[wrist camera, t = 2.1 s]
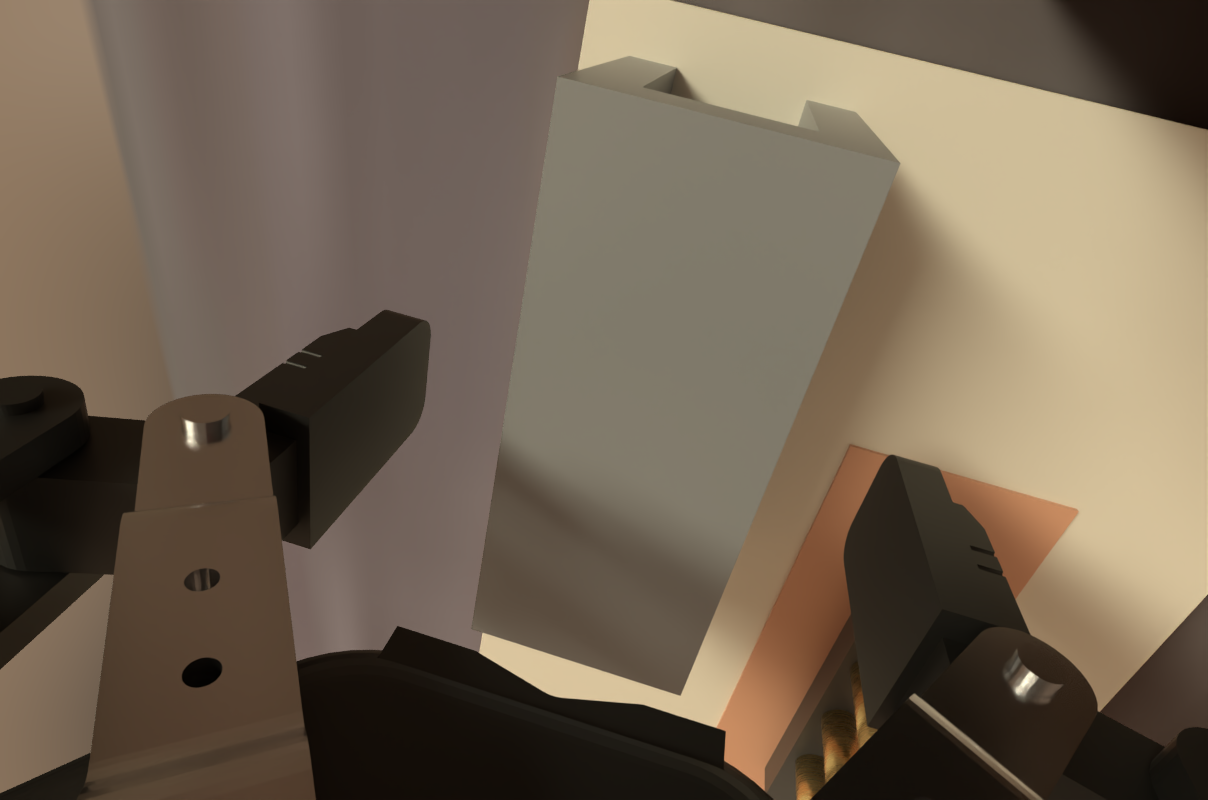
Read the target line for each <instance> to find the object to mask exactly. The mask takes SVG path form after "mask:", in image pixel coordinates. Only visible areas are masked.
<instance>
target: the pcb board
mask: <svg viewBox="0 0 1208 800" xmlns="http://www.w3.org/2000/svg"><path fill="white" fill-rule="evenodd" d="M627 56H633V57H637V58H641V59H645V60H649V61H653V62H657V63H661V64H665V65H669V66H673V67H677V70H676V74H675V78H674V82H673V87H672V91H671V95H675V96H679V97H683V98H687V99H691V100H695V101H699V102H703V103H707V104H711V105H715V106H719V107H723V108H727V109H731V110H735V111H739V112H743V113H747V114H751V115H755V116H759V117H763V118H767V119H771V120H775V121H778V122H782V123H786V124H790V125H794V126H798V124H799V121H800V118H801V115H802V112H803V109H804V106H805V103H806V100H810V101H814V102H818V103H822V104H826V105H830V106H834V107H838V108H842V109H846V110H850V111H854V112H856V113H857V114H858V115H859V116H860V117H861V118H862V119H863V121H864V122H865V123H866V124H867V125H868V126H869V128H870V129H871V130H872V131H873V132H874V133H875V134H876V136H877V137H878V138H879V139H880V140H881V141H882V143H883V144H884V145H885V146H886V147H887V148H888V149H889V151H890V152H891V153H892V154H893V155H894V156H895V157H896V159H897V160H898V161H899V162H900V166H899V168H898V171H897V173H896V175H895V178H894V180H893V183H892V185H891V188H890V190H889V192H888V195H887V197H886V200H885V202H884V205H883V207H882V209H881V212H880V214H879V217H878V219H877V222H876V224H875V226H874V229H873V231H872V234H871V236H870V238H869V241H868V243H867V246H866V248H865V251H864V253H863V255H862V258H861V260H860V263H859V265H858V268H857V270H856V272H855V275H854V277H853V280H852V282H851V284H850V287H849V289H848V292H847V294H846V297H845V299H844V301H843V304H842V306H841V309H840V311H839V314H838V316H837V318H836V321H835V323H834V326H833V328H832V330H831V333H830V335H829V338H828V340H827V343H826V345H825V347H824V350H823V352H822V355H821V357H820V360H819V362H818V364H817V367H816V369H815V372H814V374H813V376H812V379H811V381H810V384H809V386H808V389H807V391H806V393H805V396H804V398H803V401H802V403H801V406H800V408H799V410H798V413H797V415H796V418H795V420H794V422H793V425H792V427H791V430H790V432H789V435H788V437H787V439H786V442H785V444H784V447H783V449H782V452H781V454H780V456H779V459H778V461H777V464H776V466H775V468H774V471H773V473H772V476H771V478H770V481H769V483H768V485H767V488H766V490H765V493H764V495H763V498H762V500H761V502H760V505H759V507H758V510H757V512H756V514H755V517H754V519H753V522H752V524H751V527H750V529H749V531H748V534H747V536H746V539H745V541H744V544H743V546H742V548H741V551H740V553H739V556H738V558H737V560H736V563H735V565H734V568H733V570H732V573H731V575H730V577H729V580H728V582H727V585H726V587H725V590H724V592H723V594H722V597H721V599H720V602H719V604H718V606H717V609H716V611H715V614H714V616H713V619H712V621H711V623H710V626H709V628H708V631H707V633H706V636H705V638H704V640H703V643H702V645H701V648H700V650H699V652H698V655H697V657H696V660H695V662H694V665H693V667H692V669H691V672H690V674H689V677H688V679H687V682H686V684H685V686H684V689H683V691H682V694H681V696H679V695H676V694H673V693H670V692H667V691H663V690H660V689H657V688H654V687H651V686H648V685H645V684H642V683H638V682H635V681H632V680H629V679H626V678H623V677H620V676H617V675H613V674H610V673H607V672H604V671H601V670H598V669H595V668H592V667H588V666H585V665H582V664H579V663H576V662H573V661H570V660H567V659H563V658H560V657H557V656H554V655H551V654H548V653H545V652H542V651H538V650H535V649H532V648H529V647H526V646H523V645H520V644H517V643H513V642H510V641H507V640H504V639H501V638H498V637H495V636H492V635H488V634H485V633H483V634H482V640H481V646H480V652H479V653H480V654H482V655H483V656H485V657H487V658H488V659H490V660H492V661H493V662H495V663H497V664H498V665H500V666H502V667H503V668H505V669H507V670H508V671H510V672H512V673H513V674H515V675H517V676H518V677H520V678H522V679H523V680H525V681H527V682H528V683H530V684H532V685H533V686H535V687H537V688H538V689H540V690H542V691H543V692H545V693H547V694H549V695H552V696H555V697H560V698H571V699H583V700H595V701H607V702H619V703H631V704H643V705H646V706H649V707H652V708H655V709H659V710H662V711H665V712H668V713H671V714H674V715H677V716H680V717H684V718H687V719H690V720H693V721H696V722H699V723H702V724H705V725H709V726H712V727H715V728H718V729H721V730H724V731H726V737H725V754H724V761H725V762H727V763H729V764H730V765H732V766H734V767H735V768H737V769H738V770H739V771H741V772H742V773H743V774H745V775H746V776H747V777H749V778H750V779H751V780H753V781H754V782H755V783H756V784H757V785H759V786H760V787H761V788H762V789H763V790H764V791H765V767H766V765H767V763H768V761H769V759H770V758H771V756H772V754H773V752H774V750H775V749H776V747H777V745H778V743H779V741H780V740H781V738H782V736H783V734H784V733H785V731H786V729H787V727H788V725H789V724H790V722H791V720H792V718H793V716H794V715H795V713H796V711H797V709H798V707H799V706H800V704H801V702H802V700H803V699H804V697H805V695H806V693H807V691H808V690H809V688H810V686H811V684H812V682H813V681H814V679H815V677H816V675H817V673H818V672H819V670H820V668H821V666H822V665H823V663H824V661H825V659H826V657H827V656H828V654H829V652H830V650H831V648H832V647H833V645H834V643H835V641H836V639H837V638H838V636H839V634H840V632H841V631H842V629H843V627H844V625H845V623H846V622H847V620H848V618H849V616H850V614H851V610H850V603H849V596H848V589H847V582H846V575H845V568H844V547H845V542H846V538H847V534H848V531H849V529H850V526H851V524H852V522H853V520H854V518H855V516H856V514H857V512H858V510H859V508H860V506H861V504H862V502H863V500H864V498H865V496H866V494H867V492H868V490H869V488H870V486H871V484H872V482H873V480H874V478H875V476H876V474H877V472H878V470H879V468H880V466H881V464H882V463H883V461H884V460H885V459H886V458H887V457H888V456H889V455H896V456H900V457H903V458H907V459H911V460H914V461H918V462H921V463H925V464H928V465H932V466H935V467H938V468H939V469H940V471H941V473H942V476H943V478H944V481H945V483H946V486H947V489H948V491H949V494H950V496H951V499H952V501H953V502H954V503H957V504H960V505H963V506H964V507H965V508H966V509H967V510H968V511H969V512H970V513H971V514H972V516H973V517H974V518H975V519H976V520H977V521H978V522H979V523H980V524H981V525H982V527H983V528H984V529H985V531H986V533H987V535H988V538H989V540H990V542H991V544H992V547H993V549H994V551H995V553H994V556H995V557H997V558H998V561H999V563H1000V565H1001V568H1002V570H1003V574H1002V576H1004V577H1006V579H1007V581H1008V584H1009V586H1010V588H1011V591H1012V593H1013V595H1014V598H1015V600H1016V602H1017V604H1018V607H1019V609H1020V611H1021V614H1022V616H1023V618H1024V621H1025V623H1026V625H1027V627H1028V630H1029V632H1030V634H1031V635H1032V636H1034V637H1036V638H1038V639H1040V640H1041V641H1043V642H1045V643H1047V644H1048V645H1050V646H1051V647H1053V648H1054V649H1056V650H1057V651H1058V652H1060V653H1061V654H1062V655H1064V656H1065V657H1066V658H1067V659H1068V660H1069V661H1070V662H1072V663H1073V664H1074V665H1075V666H1076V668H1077V669H1078V670H1079V671H1080V672H1081V673H1082V674H1083V676H1084V677H1085V678H1086V679H1087V681H1088V682H1089V684H1090V686H1091V687H1092V689H1093V691H1094V693H1095V696H1096V699H1097V703H1098V711H1099V712H1100V711H1101V710H1102V709H1103V708H1104V706H1105V705H1106V704H1107V703H1108V702H1109V701H1110V700H1111V699H1112V698H1113V697H1114V696H1115V695H1116V693H1117V692H1118V691H1119V690H1120V689H1121V688H1122V687H1123V686H1124V685H1125V684H1126V683H1127V681H1128V680H1129V679H1130V678H1131V677H1132V676H1133V675H1134V674H1135V673H1136V672H1137V671H1138V670H1139V668H1140V667H1141V666H1142V665H1143V664H1144V663H1145V662H1146V661H1147V660H1148V659H1149V658H1150V657H1151V655H1152V654H1153V653H1154V652H1155V651H1156V650H1157V649H1158V648H1159V647H1160V646H1161V645H1162V643H1163V642H1164V641H1165V640H1166V639H1167V638H1168V637H1169V636H1170V635H1171V634H1172V633H1173V632H1174V630H1175V629H1176V628H1177V627H1178V626H1179V625H1180V624H1181V623H1182V622H1183V621H1184V620H1185V618H1186V617H1187V616H1188V615H1189V614H1190V613H1191V612H1192V611H1193V610H1194V609H1195V608H1196V607H1197V605H1198V604H1199V603H1200V602H1201V601H1202V600H1203V599H1204V598H1205V597H1206V596H1207V595H1208V129H1204V128H1199V127H1195V126H1191V125H1187V124H1183V123H1179V122H1175V121H1170V120H1166V119H1162V118H1158V117H1154V116H1150V115H1146V114H1141V113H1137V112H1133V111H1129V110H1125V109H1121V108H1117V107H1112V106H1108V105H1104V104H1100V103H1096V102H1092V101H1088V100H1083V99H1079V98H1075V97H1071V96H1067V95H1063V94H1059V93H1054V92H1050V91H1046V90H1042V89H1038V88H1034V87H1030V86H1025V85H1021V84H1017V83H1013V82H1009V81H1005V80H1001V79H996V78H992V77H988V76H984V75H980V74H976V73H972V72H967V71H963V70H959V69H955V68H951V67H947V66H943V65H938V64H934V63H930V62H926V61H922V60H918V59H914V58H909V57H905V56H901V55H897V54H893V53H889V52H885V51H880V50H876V49H872V48H868V47H864V46H860V45H856V44H851V43H847V42H843V41H839V40H835V39H831V38H827V37H822V36H818V35H814V34H810V33H806V32H802V31H798V30H793V29H789V28H785V27H781V26H777V25H773V24H769V23H764V22H760V21H756V20H752V19H748V18H744V17H740V16H735V15H731V14H727V13H723V12H719V11H715V10H710V9H706V8H702V7H698V6H694V5H690V4H686V3H681V2H677V1H673V0H590V1H589V7H588V13H587V19H586V25H585V31H584V37H583V43H582V49H581V54H580V60H579V66H578V70H582V69H585V68H589V67H592V66H595V65H599V64H602V63H606V62H609V61H613V60H616V59H620V58H623V57H627Z"/></svg>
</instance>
